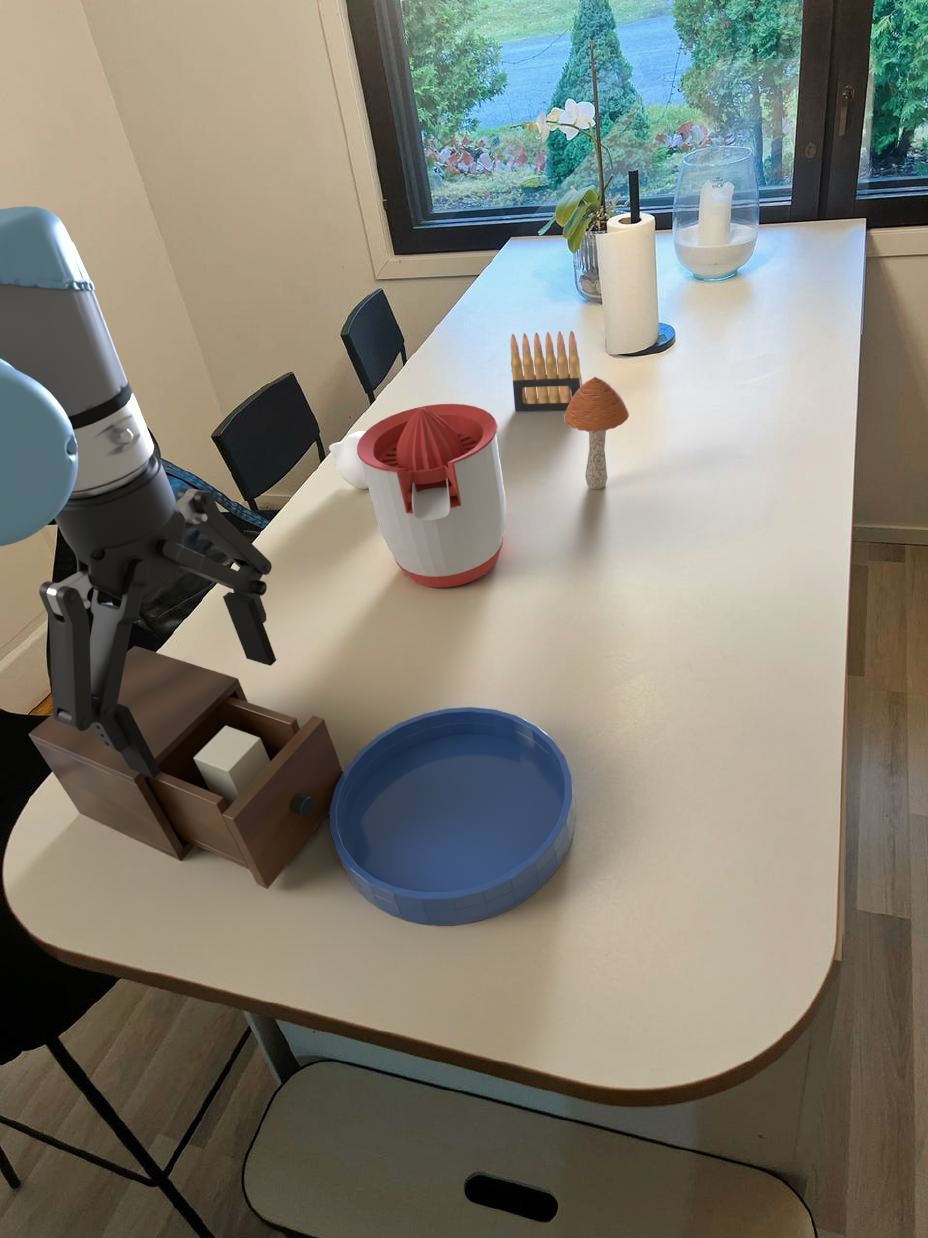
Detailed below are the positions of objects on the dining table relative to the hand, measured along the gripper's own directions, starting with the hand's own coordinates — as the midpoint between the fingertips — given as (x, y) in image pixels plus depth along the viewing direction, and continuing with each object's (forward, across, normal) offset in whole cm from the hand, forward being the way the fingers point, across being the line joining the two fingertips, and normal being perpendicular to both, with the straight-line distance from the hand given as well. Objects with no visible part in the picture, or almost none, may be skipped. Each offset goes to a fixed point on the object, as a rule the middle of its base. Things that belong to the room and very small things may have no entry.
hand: (207, 711), depth 69 cm
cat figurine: (+13, +54, +24) cm, 61 cm away
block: (+12, 0, 0) cm, 12 cm away
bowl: (+14, +8, -16) cm, 23 cm away
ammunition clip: (+13, +82, +11) cm, 84 cm away
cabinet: (+14, 0, +11) cm, 18 cm away
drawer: (+13, 0, 0) cm, 13 cm away
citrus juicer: (+14, +40, +4) cm, 43 cm away
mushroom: (+13, +62, -6) cm, 64 cm away
